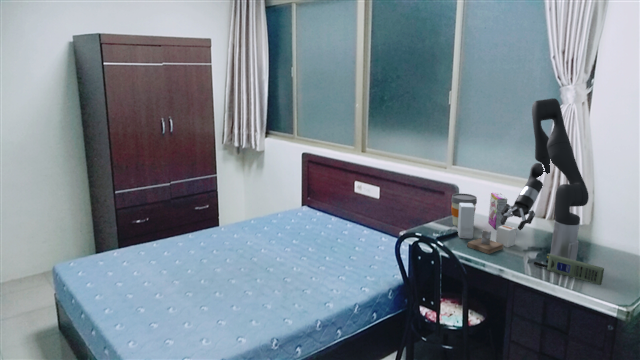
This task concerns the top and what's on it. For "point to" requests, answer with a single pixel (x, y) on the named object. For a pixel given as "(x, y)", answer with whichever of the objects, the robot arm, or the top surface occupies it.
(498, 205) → the candy bar box
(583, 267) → the handheld radio
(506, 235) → the white box
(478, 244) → the shaft base
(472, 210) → the skincare box
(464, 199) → the lidded canister
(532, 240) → the top surface
